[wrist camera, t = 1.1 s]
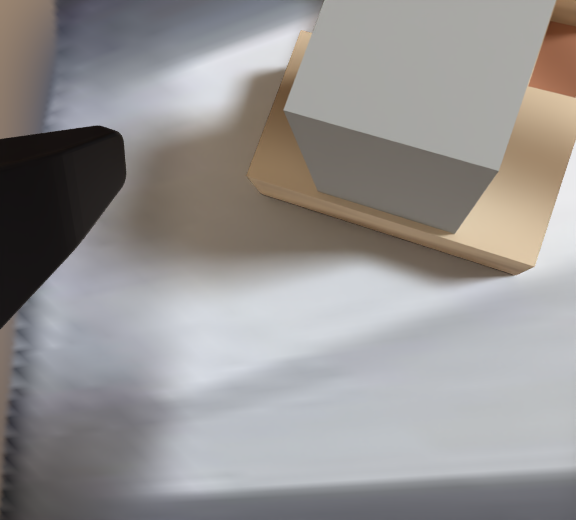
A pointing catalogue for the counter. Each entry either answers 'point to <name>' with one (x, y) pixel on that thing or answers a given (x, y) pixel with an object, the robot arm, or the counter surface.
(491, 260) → the trap box
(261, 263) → the counter surface
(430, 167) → the gray block
